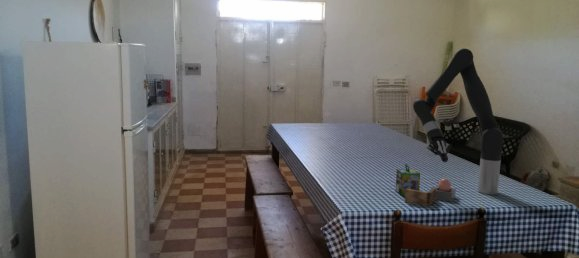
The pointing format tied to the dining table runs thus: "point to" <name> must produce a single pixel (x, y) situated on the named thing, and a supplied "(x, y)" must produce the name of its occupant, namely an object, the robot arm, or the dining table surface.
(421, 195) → the corner fence
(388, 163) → the dining table surface
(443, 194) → the dome collar
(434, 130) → the robot arm
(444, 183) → the dome
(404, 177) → the chalk box
